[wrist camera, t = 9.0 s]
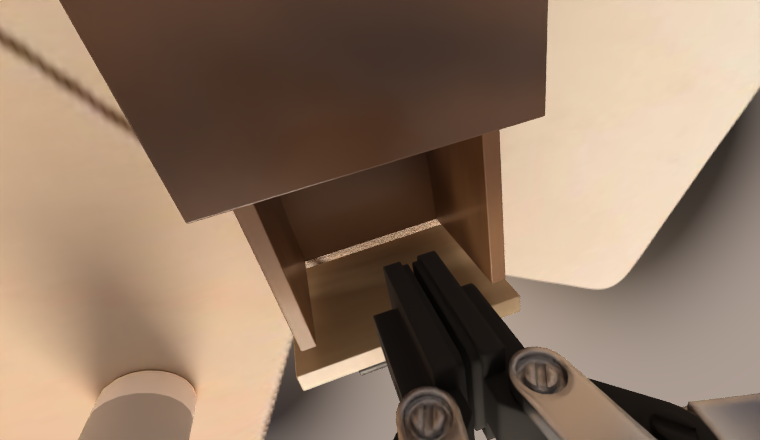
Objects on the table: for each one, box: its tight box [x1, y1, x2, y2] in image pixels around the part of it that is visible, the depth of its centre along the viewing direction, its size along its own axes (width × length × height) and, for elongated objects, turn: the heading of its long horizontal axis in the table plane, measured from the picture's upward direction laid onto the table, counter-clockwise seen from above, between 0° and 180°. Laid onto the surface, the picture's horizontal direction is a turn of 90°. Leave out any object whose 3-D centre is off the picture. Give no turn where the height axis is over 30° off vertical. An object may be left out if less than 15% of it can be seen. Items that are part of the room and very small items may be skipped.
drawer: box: [233, 130, 520, 391], centre depth 21 cm, size 20×12×9 cm, turn 12°
